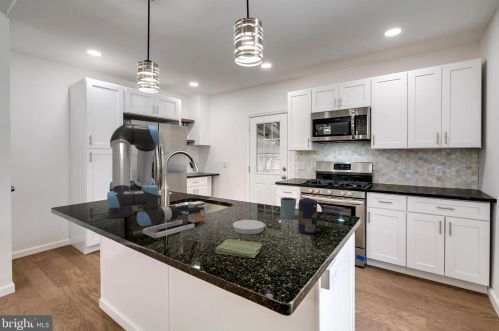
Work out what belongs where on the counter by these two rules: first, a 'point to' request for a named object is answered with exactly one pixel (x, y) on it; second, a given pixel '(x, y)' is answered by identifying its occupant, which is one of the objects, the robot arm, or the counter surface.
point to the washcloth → (239, 248)
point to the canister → (307, 216)
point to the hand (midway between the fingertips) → (203, 206)
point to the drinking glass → (288, 208)
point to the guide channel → (167, 232)
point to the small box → (196, 216)
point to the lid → (248, 226)
